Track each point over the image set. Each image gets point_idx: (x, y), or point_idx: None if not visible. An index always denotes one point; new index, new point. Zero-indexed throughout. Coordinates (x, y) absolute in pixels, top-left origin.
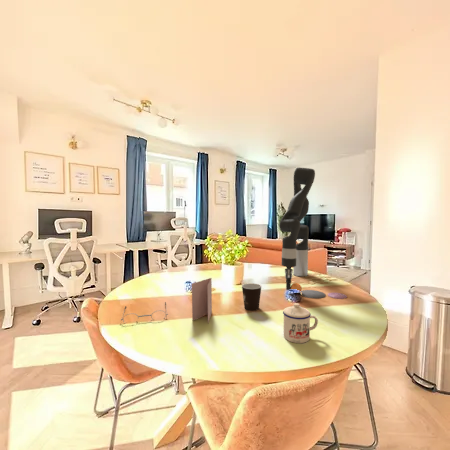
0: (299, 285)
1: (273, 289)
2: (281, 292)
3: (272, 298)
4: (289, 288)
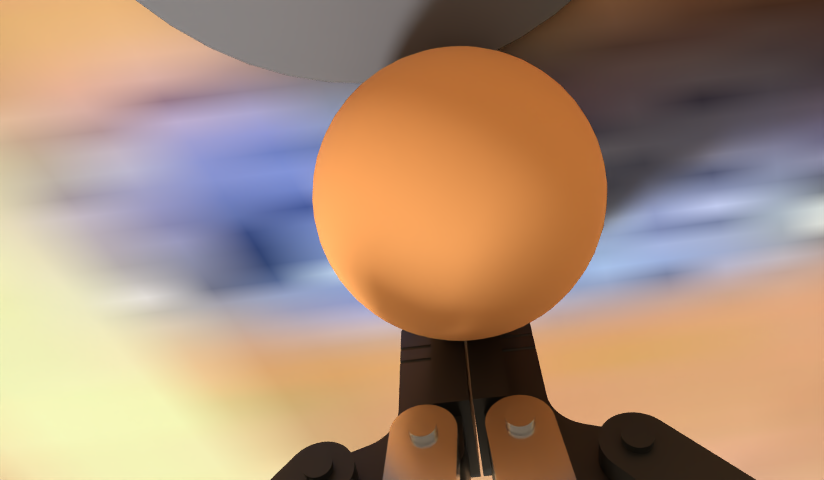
0: (525, 154)
1: None
2: None
3: (805, 420)
4: None
